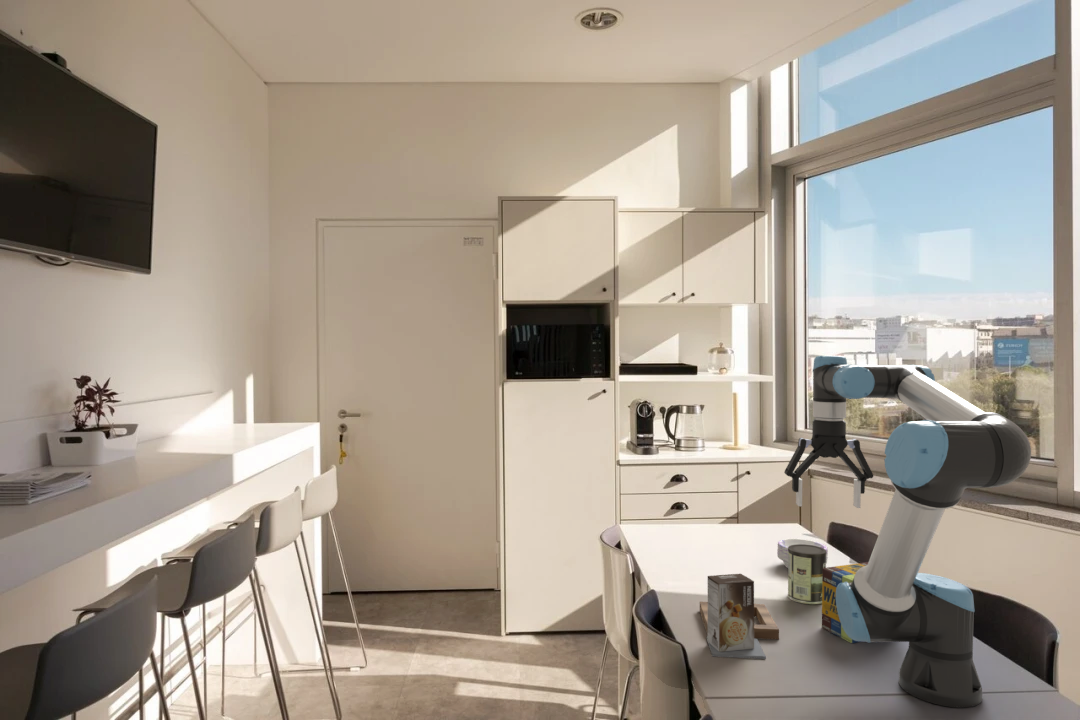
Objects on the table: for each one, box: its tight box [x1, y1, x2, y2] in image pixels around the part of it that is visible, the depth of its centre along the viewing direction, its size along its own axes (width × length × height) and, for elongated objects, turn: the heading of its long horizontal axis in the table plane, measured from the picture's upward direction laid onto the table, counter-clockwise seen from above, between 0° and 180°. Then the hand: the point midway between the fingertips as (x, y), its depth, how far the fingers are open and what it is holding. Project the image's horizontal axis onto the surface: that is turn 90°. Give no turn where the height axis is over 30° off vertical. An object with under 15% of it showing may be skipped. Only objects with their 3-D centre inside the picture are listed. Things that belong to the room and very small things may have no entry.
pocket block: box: [699, 601, 780, 640], centre depth 183 cm, size 17×17×2 cm
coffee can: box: [787, 544, 827, 605], centre depth 203 cm, size 10×10×14 cm
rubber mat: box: [706, 635, 767, 660], centre depth 169 cm, size 10×12×1 cm
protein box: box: [821, 561, 869, 644], centre depth 179 cm, size 10×15×16 cm
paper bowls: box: [777, 537, 829, 569], centre depth 230 cm, size 15×15×8 cm
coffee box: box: [707, 573, 755, 652], centre depth 169 cm, size 9×6×16 cm
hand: (827, 506), depth 174 cm, fingers open, 13 cm apart
